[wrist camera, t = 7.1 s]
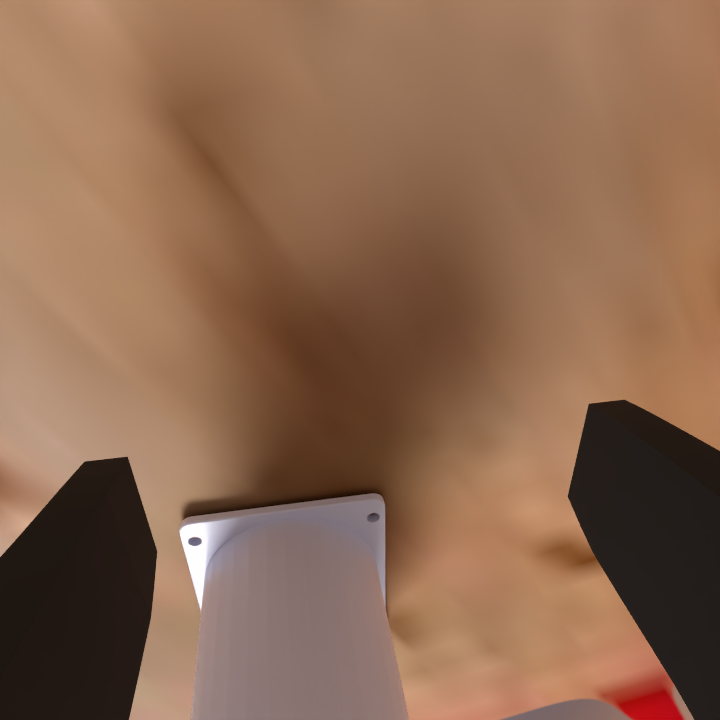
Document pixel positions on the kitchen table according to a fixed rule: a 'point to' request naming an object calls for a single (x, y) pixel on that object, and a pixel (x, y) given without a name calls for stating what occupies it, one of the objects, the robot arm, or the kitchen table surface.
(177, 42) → the kitchen table surface
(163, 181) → the kitchen table surface
